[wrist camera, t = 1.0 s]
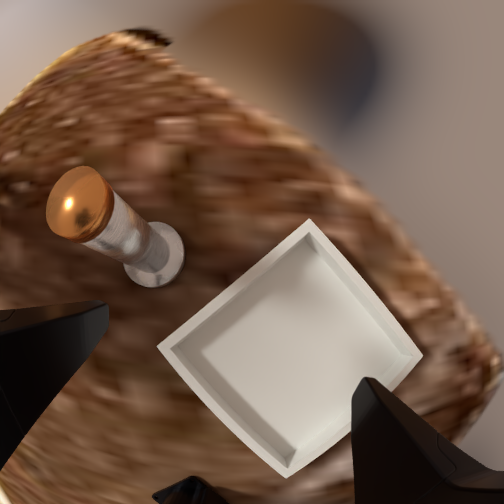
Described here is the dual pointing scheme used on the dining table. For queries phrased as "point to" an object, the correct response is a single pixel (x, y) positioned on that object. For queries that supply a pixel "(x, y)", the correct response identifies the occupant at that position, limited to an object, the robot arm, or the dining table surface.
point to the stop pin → (114, 228)
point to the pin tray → (291, 350)
